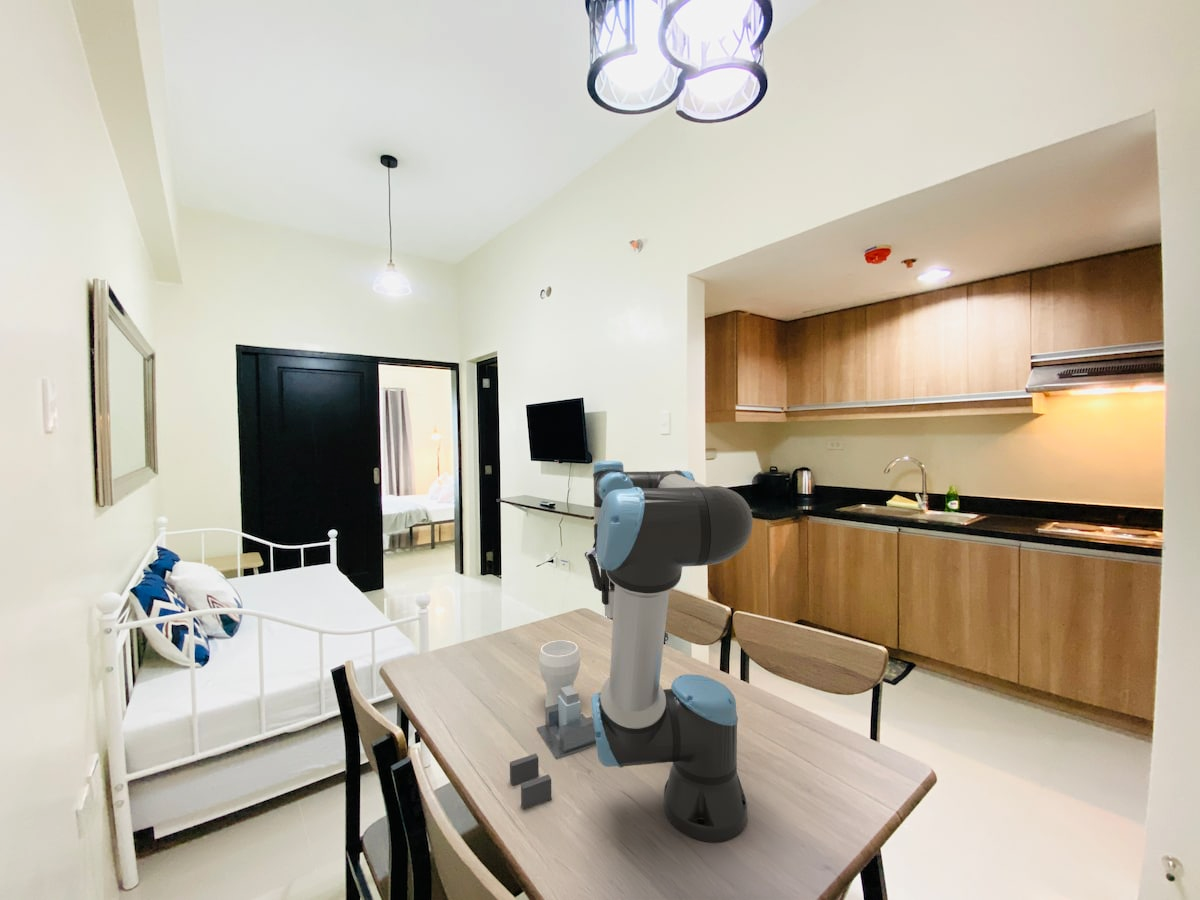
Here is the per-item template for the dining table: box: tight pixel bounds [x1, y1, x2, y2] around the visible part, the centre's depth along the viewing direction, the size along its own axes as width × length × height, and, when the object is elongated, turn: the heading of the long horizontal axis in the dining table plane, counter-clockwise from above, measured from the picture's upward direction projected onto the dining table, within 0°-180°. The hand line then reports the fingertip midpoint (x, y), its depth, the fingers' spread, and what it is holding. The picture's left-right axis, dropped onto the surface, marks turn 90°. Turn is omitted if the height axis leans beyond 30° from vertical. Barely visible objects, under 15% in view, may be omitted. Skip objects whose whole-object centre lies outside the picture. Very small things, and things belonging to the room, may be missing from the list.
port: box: [536, 704, 597, 760], centre depth 111 cm, size 12×12×5 cm
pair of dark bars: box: [509, 753, 553, 811], centre depth 94 cm, size 8×6×4 cm, turn 28°
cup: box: [538, 640, 581, 709], centre depth 124 cm, size 11×11×15 cm
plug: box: [558, 685, 582, 727], centre depth 112 cm, size 5×4×10 cm
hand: (609, 616), depth 120 cm, fingers closed
